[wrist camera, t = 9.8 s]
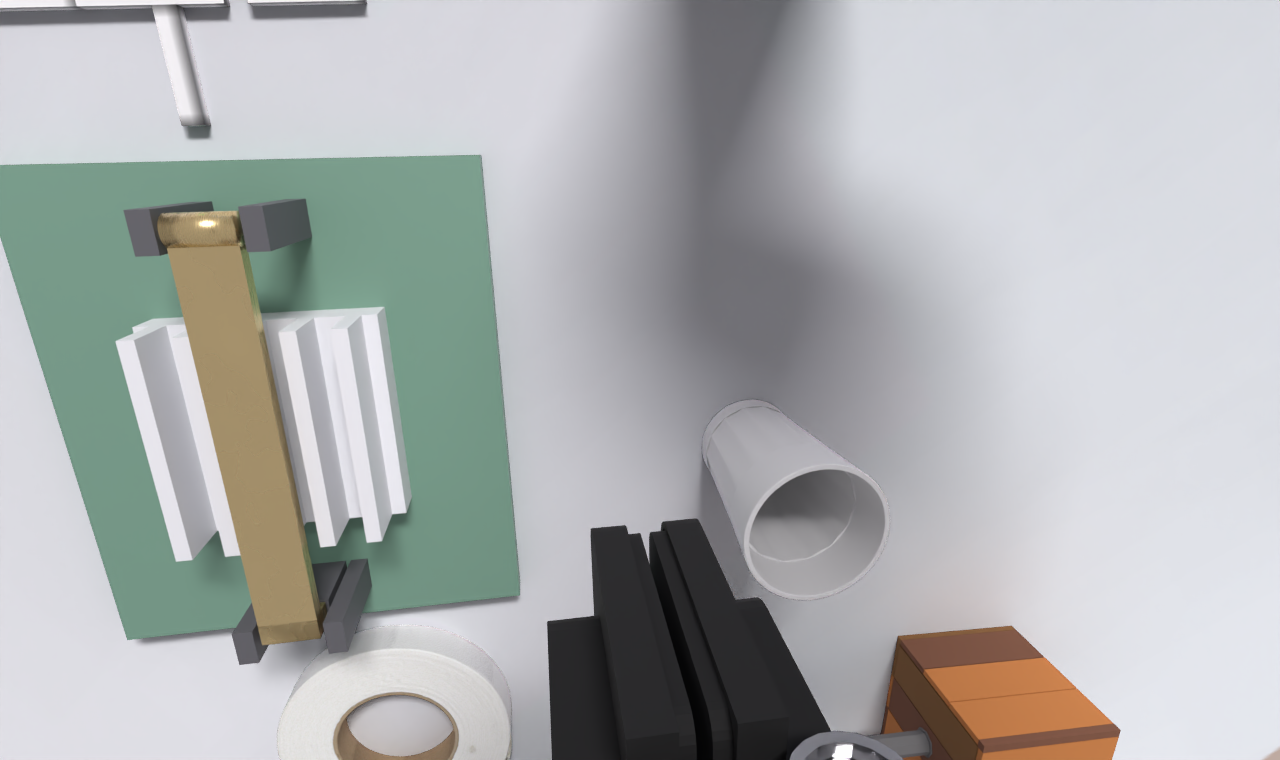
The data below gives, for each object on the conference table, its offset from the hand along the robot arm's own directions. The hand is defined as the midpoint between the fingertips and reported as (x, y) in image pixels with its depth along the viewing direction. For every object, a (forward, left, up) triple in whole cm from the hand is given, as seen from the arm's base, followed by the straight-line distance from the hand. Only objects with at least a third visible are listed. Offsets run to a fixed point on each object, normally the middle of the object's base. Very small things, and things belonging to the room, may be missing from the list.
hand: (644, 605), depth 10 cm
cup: (+12, +12, -32) cm, 36 cm away
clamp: (+35, +25, -32) cm, 54 cm away
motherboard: (+7, -16, -32) cm, 36 cm away
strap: (+7, -16, -26) cm, 31 cm away
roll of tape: (+31, -13, -32) cm, 47 cm away
